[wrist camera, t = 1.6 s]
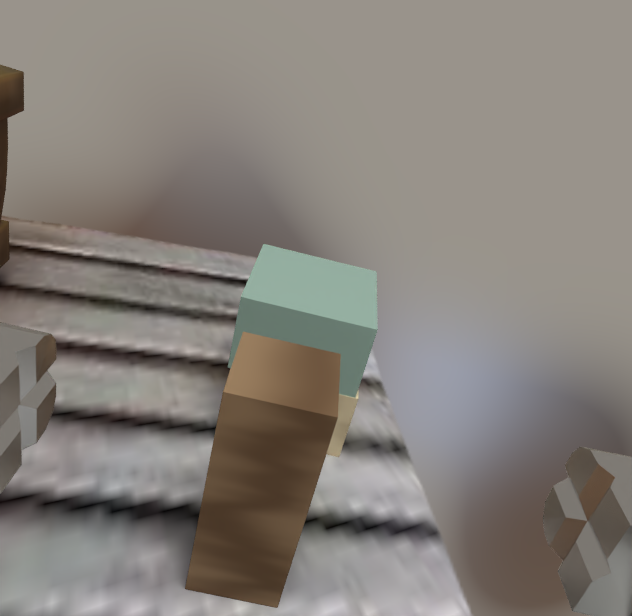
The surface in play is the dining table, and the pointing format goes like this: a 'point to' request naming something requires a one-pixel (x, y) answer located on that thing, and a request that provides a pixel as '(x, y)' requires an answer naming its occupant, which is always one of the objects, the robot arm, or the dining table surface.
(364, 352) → the upper block
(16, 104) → the wooden toy train
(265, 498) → the walnut post
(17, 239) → the dining table surface
